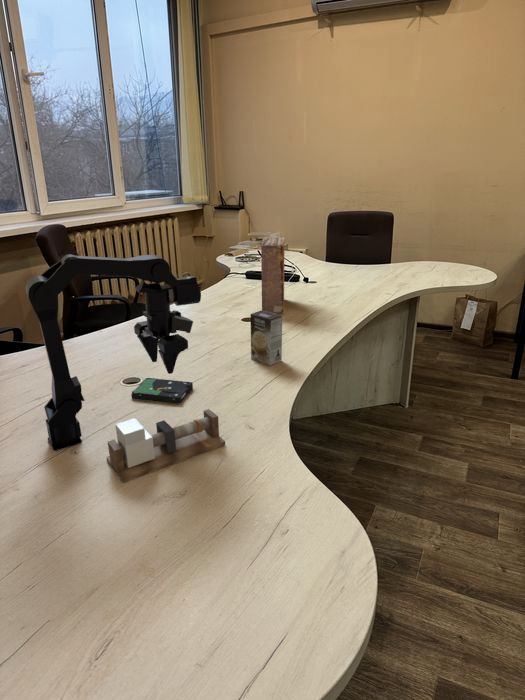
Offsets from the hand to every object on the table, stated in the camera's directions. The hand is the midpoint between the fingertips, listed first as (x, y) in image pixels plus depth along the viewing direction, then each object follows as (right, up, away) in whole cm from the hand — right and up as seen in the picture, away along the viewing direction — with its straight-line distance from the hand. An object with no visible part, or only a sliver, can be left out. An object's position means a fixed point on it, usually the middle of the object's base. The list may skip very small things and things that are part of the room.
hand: (162, 367), depth 124 cm
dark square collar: (+3, -18, -12) cm, 22 cm away
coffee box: (+27, +1, +41) cm, 49 cm away
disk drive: (-3, -9, +18) cm, 20 cm away
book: (+31, +24, +100) cm, 107 cm away
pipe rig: (+4, -19, -11) cm, 23 cm away
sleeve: (-2, -19, -16) cm, 25 cm away
